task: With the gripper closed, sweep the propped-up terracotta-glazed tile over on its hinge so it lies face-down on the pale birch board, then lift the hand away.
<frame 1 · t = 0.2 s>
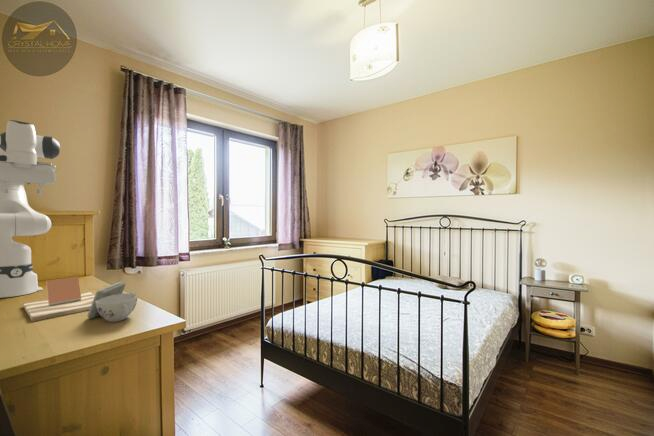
hand: (22, 193, 119), 47 cm above the table, tool pointing down, fingers open, 8 cm apart
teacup: (118, 320, 105), on the table
board: (65, 306, 120), on the table
tile: (64, 290, 121), point 6 cm above the table, hinge at 60.0°
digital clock: (107, 312, 113), on the table
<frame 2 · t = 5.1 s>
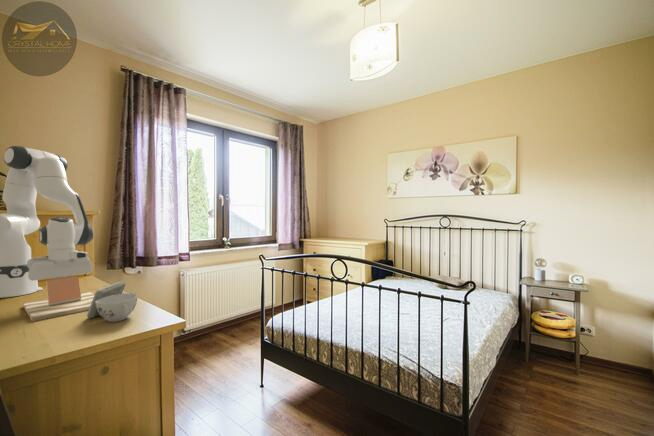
hand: (62, 286, 124), 7 cm above the table, tool pointing down, fingers closed, pressing on tile
tile: (64, 290, 121), point 6 cm above the table, hinge at 60.7°, touching gripper
everything else where it was.
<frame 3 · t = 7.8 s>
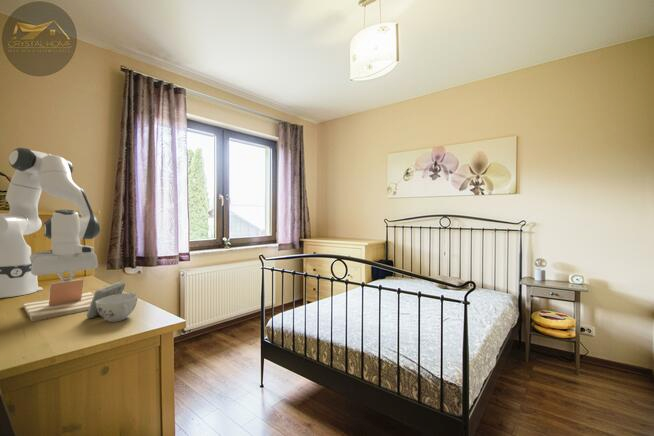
hand: (66, 282, 118), 10 cm above the table, tool pointing down, fingers closed, pressing on tile
tile: (66, 292, 118), point 6 cm above the table, hinge at 116.5°, touching gripper
everything else where it was.
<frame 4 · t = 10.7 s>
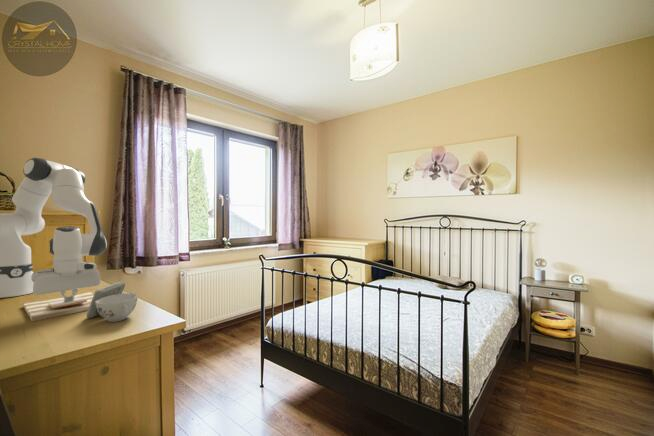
hand: (68, 301, 116), 4 cm above the table, tool pointing down, fingers closed, pressing on tile
tile: (67, 302, 117), point 3 cm above the table, hinge at 173.7°, touching gripper
everything else where it was.
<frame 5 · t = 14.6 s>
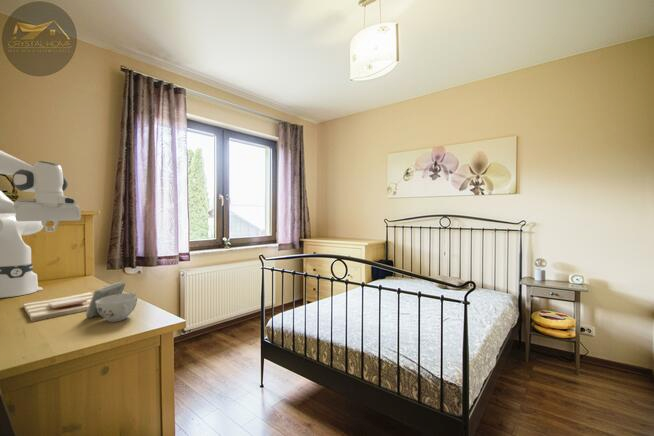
hand: (50, 231, 123), 31 cm above the table, tool pointing down, fingers closed
tile: (67, 302, 117), point 3 cm above the table, hinge at 173.8°
at the end: tile at +174° (first picture: +60°) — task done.
